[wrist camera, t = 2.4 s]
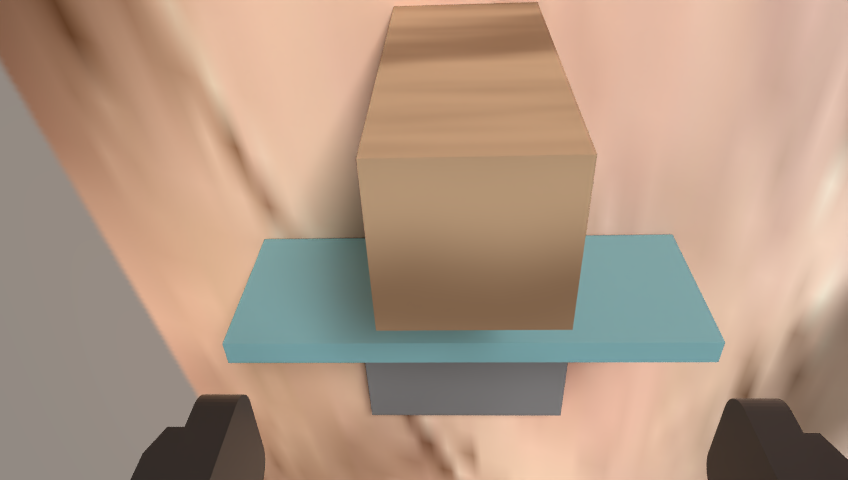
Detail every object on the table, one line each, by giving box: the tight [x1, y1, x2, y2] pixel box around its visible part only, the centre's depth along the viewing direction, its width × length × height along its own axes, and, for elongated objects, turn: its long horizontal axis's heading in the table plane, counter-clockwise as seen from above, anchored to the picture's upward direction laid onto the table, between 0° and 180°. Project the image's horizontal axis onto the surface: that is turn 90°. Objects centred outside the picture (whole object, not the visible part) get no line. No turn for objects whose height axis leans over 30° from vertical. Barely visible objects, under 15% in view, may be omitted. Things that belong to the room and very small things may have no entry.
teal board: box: [223, 235, 725, 363], centre depth 25 cm, size 1×18×6 cm, turn 92°
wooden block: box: [356, 2, 597, 331], centre depth 19 cm, size 5×5×11 cm
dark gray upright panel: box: [365, 362, 568, 415], centre depth 32 cm, size 7×10×1 cm
